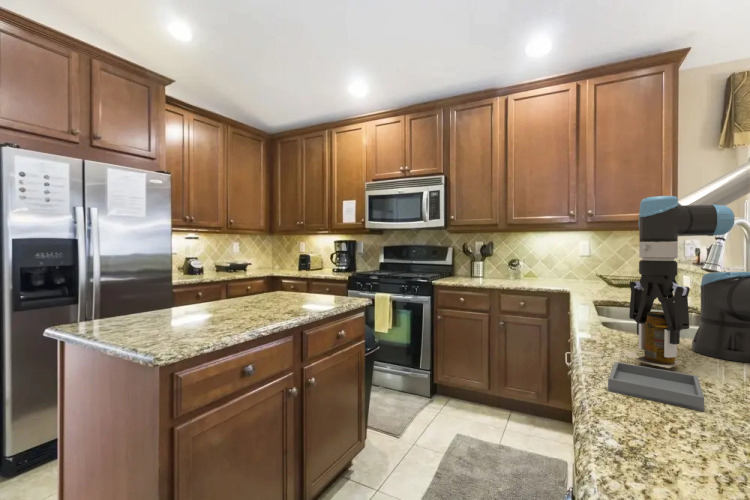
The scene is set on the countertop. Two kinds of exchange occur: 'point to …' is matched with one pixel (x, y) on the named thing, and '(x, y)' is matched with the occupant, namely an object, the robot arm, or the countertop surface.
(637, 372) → the tray
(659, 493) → the countertop surface
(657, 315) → the condiment
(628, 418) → the countertop surface
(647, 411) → the countertop surface
